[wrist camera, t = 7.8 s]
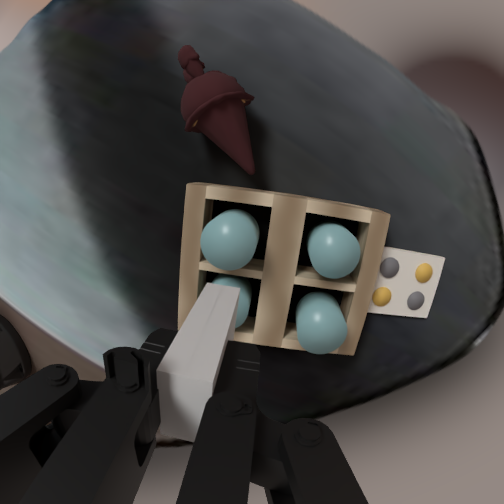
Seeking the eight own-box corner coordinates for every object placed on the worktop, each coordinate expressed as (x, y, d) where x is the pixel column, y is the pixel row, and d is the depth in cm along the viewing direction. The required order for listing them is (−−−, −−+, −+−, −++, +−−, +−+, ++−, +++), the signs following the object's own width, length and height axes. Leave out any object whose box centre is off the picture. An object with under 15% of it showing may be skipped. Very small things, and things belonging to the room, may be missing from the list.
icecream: (295, 148, 24) (217, 25, 23) (216, 186, 24) (146, 55, 23) (280, 165, 31) (217, 59, 30) (218, 196, 31) (159, 85, 29)
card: (355, 308, 34) (357, 311, 34) (371, 244, 32) (373, 245, 31) (425, 316, 34) (427, 318, 33) (442, 256, 32) (445, 258, 31)
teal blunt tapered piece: (302, 260, 33) (305, 274, 28) (310, 216, 31) (314, 224, 27) (344, 266, 32) (354, 281, 28) (353, 224, 31) (365, 232, 27)
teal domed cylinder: (291, 327, 33) (292, 351, 28) (299, 288, 31) (302, 307, 27) (333, 333, 32) (340, 356, 28) (343, 294, 31) (353, 313, 27)
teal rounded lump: (209, 306, 35) (199, 325, 31) (212, 268, 34) (202, 283, 29) (249, 313, 35) (245, 333, 30) (255, 274, 34) (251, 290, 29)
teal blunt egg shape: (209, 252, 31) (198, 265, 27) (214, 205, 30) (202, 212, 25) (256, 259, 31) (252, 274, 26) (262, 212, 30) (259, 219, 25)
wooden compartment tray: (187, 314, 37) (177, 329, 33) (197, 182, 32) (186, 183, 28) (347, 337, 35) (353, 355, 32) (378, 209, 31) (390, 214, 27)
